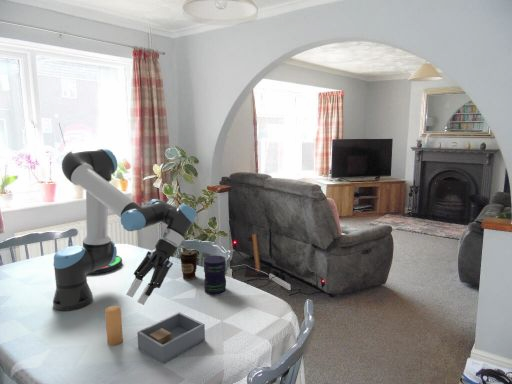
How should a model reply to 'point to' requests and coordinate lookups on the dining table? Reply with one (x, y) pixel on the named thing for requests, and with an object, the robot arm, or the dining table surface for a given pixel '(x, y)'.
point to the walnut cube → (161, 336)
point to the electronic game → (109, 266)
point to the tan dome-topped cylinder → (113, 325)
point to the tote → (183, 337)
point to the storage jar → (214, 275)
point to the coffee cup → (189, 264)
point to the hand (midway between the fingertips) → (134, 299)
